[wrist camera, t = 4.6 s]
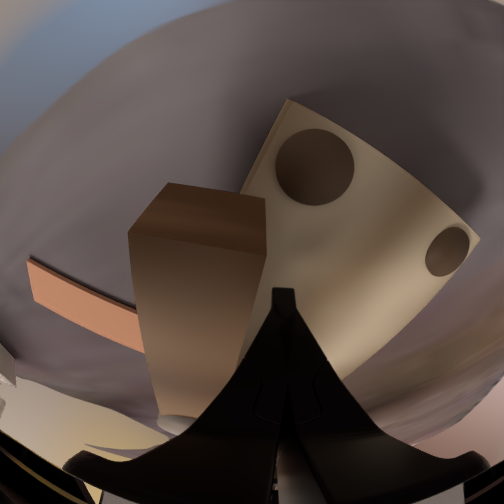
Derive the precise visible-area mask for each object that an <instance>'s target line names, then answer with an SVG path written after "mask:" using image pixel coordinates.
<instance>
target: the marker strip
mask: <svg viewBox="0 0 504 504" xmlns="http://www.w3.org/2000/svg"><path fill="white" fill-rule="evenodd" d="M27 265H28V271H29V277H30V282H31V287H32V292H33V296H34V300H35V301H36V302H38V303H40V304H41V305H43V306H45V307H47V308H48V309H50V310H52V311H54V312H56V313H58V314H59V315H61V316H63V317H65V318H67V319H69V320H71V321H73V322H75V323H77V324H79V325H81V326H83V327H85V328H87V329H89V330H91V331H93V332H95V333H97V334H100V335H102V336H104V337H106V338H109V339H111V340H113V341H115V342H118V343H120V344H123V345H125V346H127V347H130V348H132V349H135V350H137V351H140V352H143V353H145V352H144V347H143V342H142V337H141V332H140V327H139V321H138V315H137V310H135V309H133V308H130V307H128V306H126V305H123V304H121V303H119V302H116V301H114V300H112V299H110V298H107V297H105V296H103V295H101V294H98V293H96V292H94V291H92V290H90V289H88V288H86V287H84V286H82V285H79V284H77V283H75V282H73V281H71V280H69V279H67V278H65V277H63V276H61V275H60V274H58V273H56V272H54V271H52V270H50V269H48V268H46V267H45V266H43V265H41V264H39V263H37V262H35V261H34V260H32V259H30V258H29V259H28V260H27Z"/></svg>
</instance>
